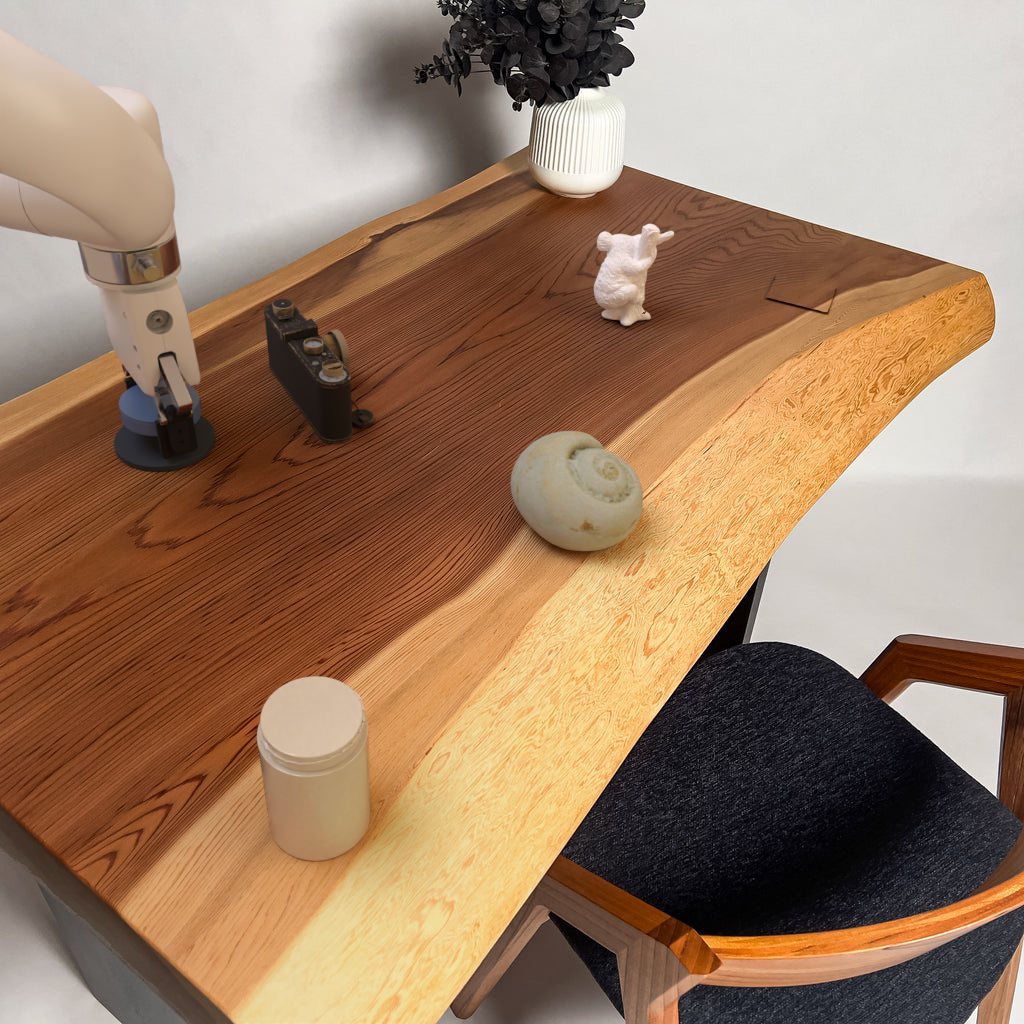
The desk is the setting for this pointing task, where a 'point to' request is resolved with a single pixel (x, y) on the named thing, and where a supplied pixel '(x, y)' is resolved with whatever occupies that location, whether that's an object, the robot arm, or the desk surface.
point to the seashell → (576, 492)
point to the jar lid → (149, 409)
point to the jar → (315, 767)
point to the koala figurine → (626, 272)
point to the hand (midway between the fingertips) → (164, 430)
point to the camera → (313, 371)
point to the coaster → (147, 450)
